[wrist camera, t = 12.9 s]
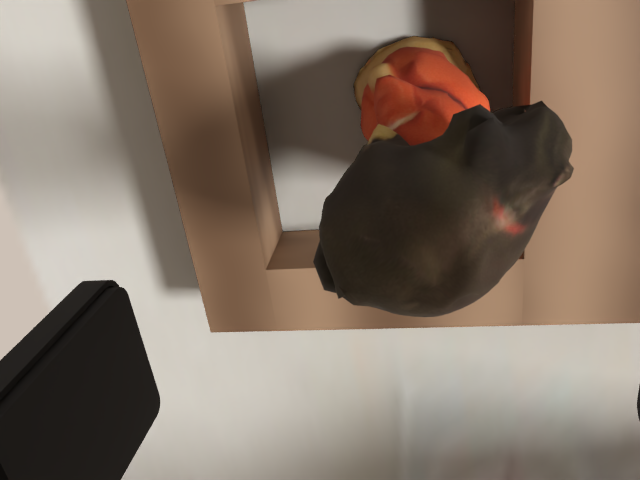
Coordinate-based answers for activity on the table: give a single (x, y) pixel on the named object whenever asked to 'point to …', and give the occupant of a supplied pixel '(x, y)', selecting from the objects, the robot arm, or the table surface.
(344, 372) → the table surface
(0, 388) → the robot arm
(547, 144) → the figurine
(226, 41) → the jig
